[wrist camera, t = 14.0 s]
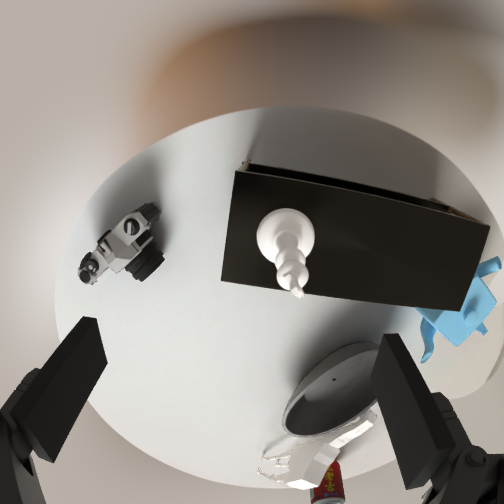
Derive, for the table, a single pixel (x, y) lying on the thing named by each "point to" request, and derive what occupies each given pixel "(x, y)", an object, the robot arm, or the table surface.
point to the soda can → (329, 487)
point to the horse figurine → (317, 455)
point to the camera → (126, 248)
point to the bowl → (332, 392)
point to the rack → (356, 239)
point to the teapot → (461, 312)
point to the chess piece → (287, 246)
